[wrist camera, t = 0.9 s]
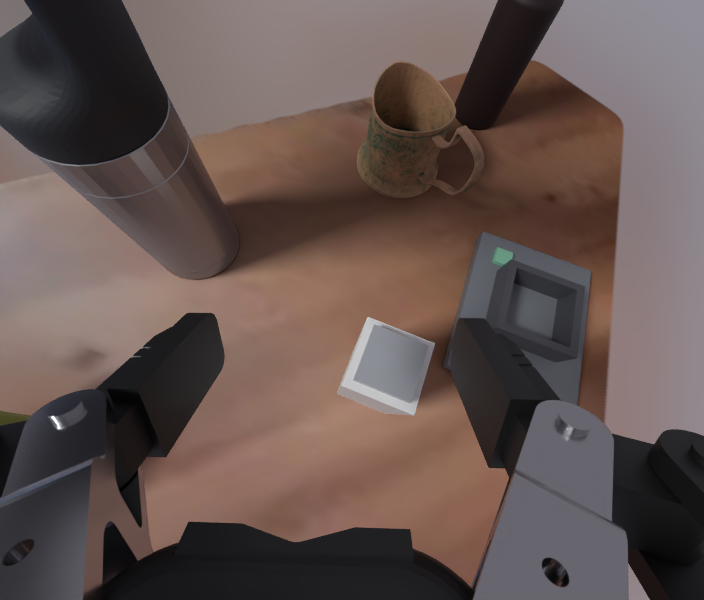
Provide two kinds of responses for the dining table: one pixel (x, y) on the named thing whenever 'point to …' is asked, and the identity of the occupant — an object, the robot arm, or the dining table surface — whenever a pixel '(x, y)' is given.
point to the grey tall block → (387, 369)
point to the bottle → (503, 58)
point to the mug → (411, 134)
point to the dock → (530, 307)
